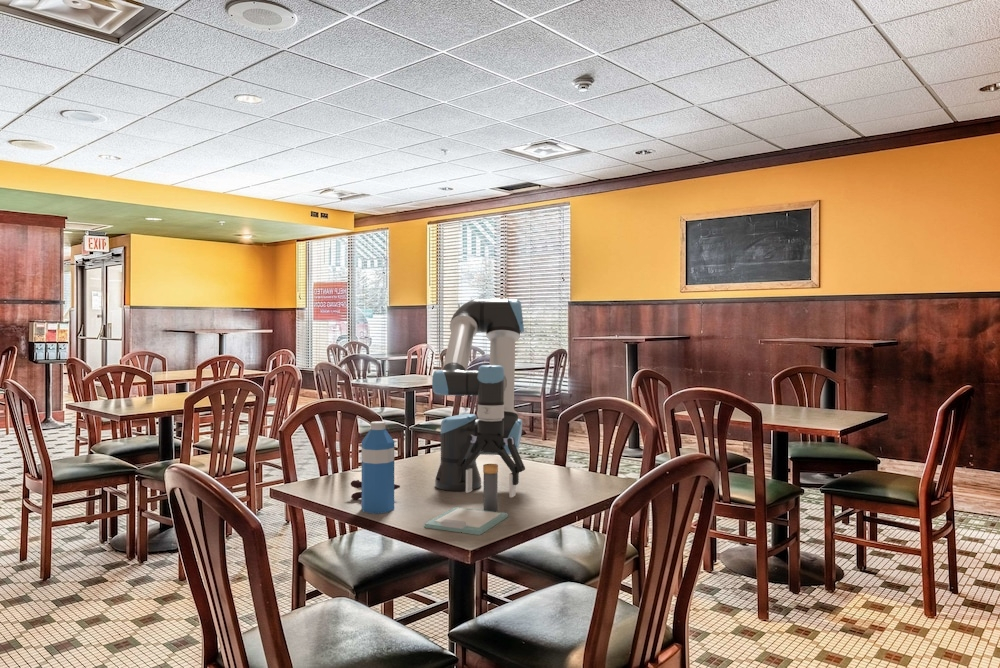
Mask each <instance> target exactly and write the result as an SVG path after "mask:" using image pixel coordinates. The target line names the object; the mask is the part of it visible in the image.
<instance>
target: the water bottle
mask: <svg viewBox="0 0 1000 668" xmlns="http://www.w3.org/2000/svg"><path fill="white" fill-rule="evenodd" d="M361 482H362V487H361V492H362V498H361V510H362V512H363V511H364V512H367V513H366V514H373V513H374V515H377V514H385V513H389V512H391V511H394V510H395V490H394V484H395V440H394V439H393V438H392V436H391V435H390V434H389V432H388V430H386V422H385V421H382V420H379V421H377V420H376V421H371V422H370V429H369V430H368V432H367V433H366V435H365V436H364V438H363V439H362V441H361ZM364 512H363V513H364Z"/></svg>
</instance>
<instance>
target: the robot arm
mask: <svg viewBox="0 0 1000 668" xmlns="http://www.w3.org/2000/svg"><path fill="white" fill-rule="evenodd" d="M521 303H522V302H521V301H520V300H519V299H516V298H476V299H472V300H469V301H467V302H465V303H464V304H462V305H461V306H460V307H459V308H458V309H457V310H456V311H455V312H454V314H453V315H452V317H451V319H450V323H449V330H450V335H449V340H448V344H447V349H446V353H445V356H444V361H443V365H442V369H439V370H437V369H436V370H435V371H433V374H432V378H431V380H432V382H431V384H432V385H431V386H432V387H431V388H432V392H433V393H434V394H435V395H437V396H438V395H440V396H446V397H447V396H477V415H476V414H475V413H465V414H464V413H462V414H457V415H452V416H447V417H445V418H443V419H442V420H441V423H440V431H439V434H440V463H439V467H438V469H437V472H436V475H435V480H434V486H435V488H436V489H438V490H443V491H453V492H463V491H465V493H467V494H469V493H470V492H472V491H473V490H476V489H479V488H481V487H482V478H481V474H480V472H479V468H478V465H477V459H478V457H479V456H481V455H482V456H483V455H485V456H486V455H489V456H491V455H492V456H500V458H501V459H502V461H503V462H504V463H505V465H506V466H507V468H508V469H509V470H510V471H511V472H510V473H509V483H508V484H509V489H508V490H509V498H514V497H515V496H516V486H517V485H519V482H520V480H519V478H520V476H519V474H520V473H522V472H524V471H525V470H526V467H525V464H524V462H523V460H522V458H521V455H520V452H519V449H520V444H521V440H522V439H521V438H522V432H523V430H522V429H523V420H522V419H521V418H519V414H518V412H517V411H516V410H515V378H516V377H515V375H516V373H515V371H516V370H515V367H516V366H515V365H516V363H515V362H516V342H517V341H518V340H520V337H521V334H523V333H524V332H525V326H524V319H523V318H524V317H523V311H522V304H521ZM477 333H486V338H487V340H489V341H490V342H489V343H490V344H489V364H487V365H483V364H482V365H480V366H479V367H478V368H477V370H468V367H469V361H470V355H471V351H472V346H473V341H474V340H473V339H474V337H475V335H477ZM511 457H512V458H511Z"/></svg>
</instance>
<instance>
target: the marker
mask: <svg viewBox="0 0 1000 668" xmlns="http://www.w3.org/2000/svg"><path fill="white" fill-rule="evenodd" d="M482 466H483V468H482V472H483V502H482V503H483V509H482V510H485V511H493V512H498V501H499V500H498V499H499V498H498V495H499V494H498V493H499V492H498V490H499V489H498V488H499V487H498V484H499V483H498V482H499V481H498V478H499V477H498V476H499V475H498V472H499V465H498V464H497V463H483V465H482Z"/></svg>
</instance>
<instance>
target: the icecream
mask: <svg viewBox="0 0 1000 668" xmlns="http://www.w3.org/2000/svg"><path fill="white" fill-rule="evenodd" d="M350 486H351V487H352V488H355V489H362V480H361V481H360V480H359V479H357V480H352V481H351V482H350ZM400 487H401V486H400V485H398V484H395V483H394V491H395V490H397V489H400ZM351 499H352V500H359V499H362V491H356V492H354V493H352V494H351Z"/></svg>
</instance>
